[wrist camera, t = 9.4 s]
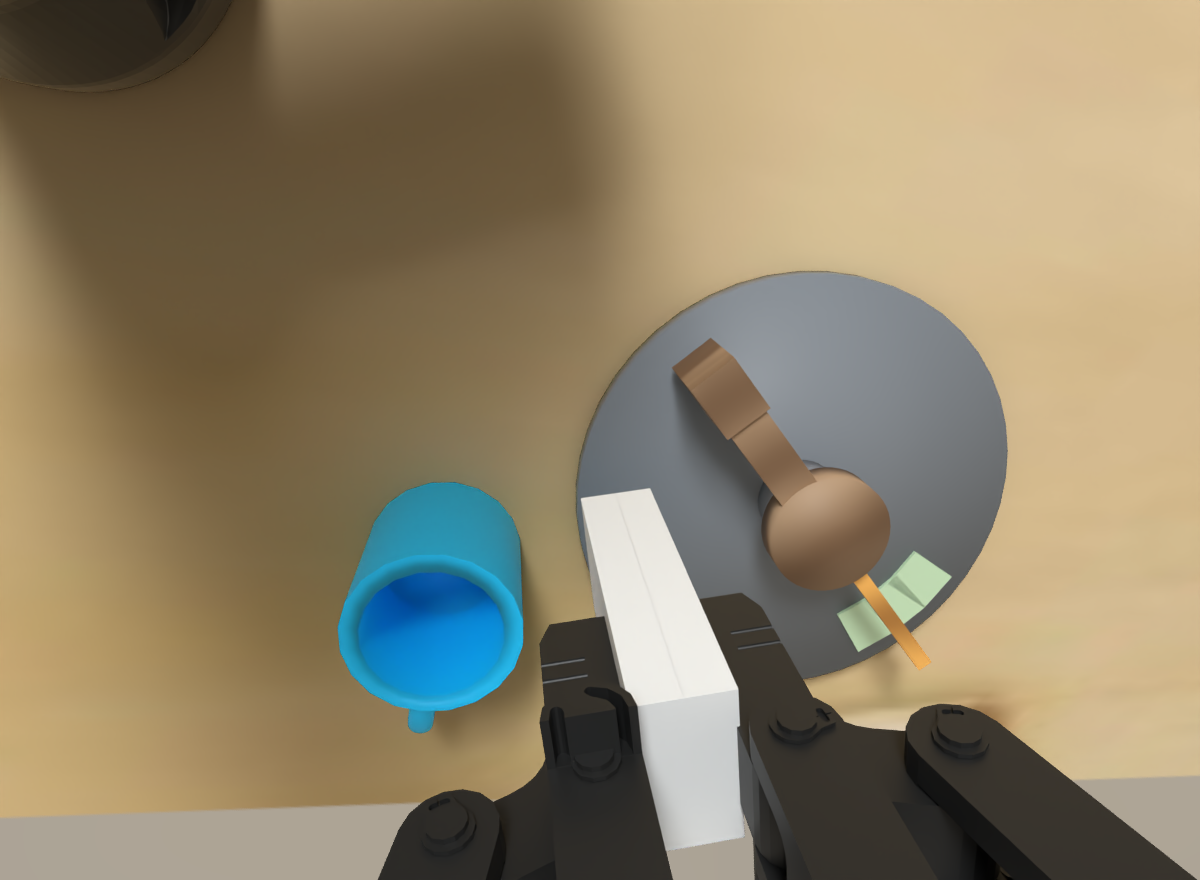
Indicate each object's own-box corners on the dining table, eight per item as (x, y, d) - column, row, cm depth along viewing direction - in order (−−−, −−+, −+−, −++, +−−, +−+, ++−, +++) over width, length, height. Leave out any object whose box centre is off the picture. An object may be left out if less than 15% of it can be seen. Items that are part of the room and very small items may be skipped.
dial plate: (533, 323, 38) (536, 341, 35) (994, 228, 40) (1045, 235, 36) (617, 708, 47) (627, 756, 43) (995, 621, 48) (1036, 660, 44)
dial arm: (642, 390, 38) (658, 415, 34) (740, 314, 38) (768, 332, 34) (855, 663, 45) (888, 710, 42) (941, 604, 45) (983, 646, 41)
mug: (376, 471, 40) (345, 543, 33) (531, 491, 42) (537, 565, 34) (355, 666, 44) (323, 772, 36) (499, 679, 45) (497, 783, 38)
